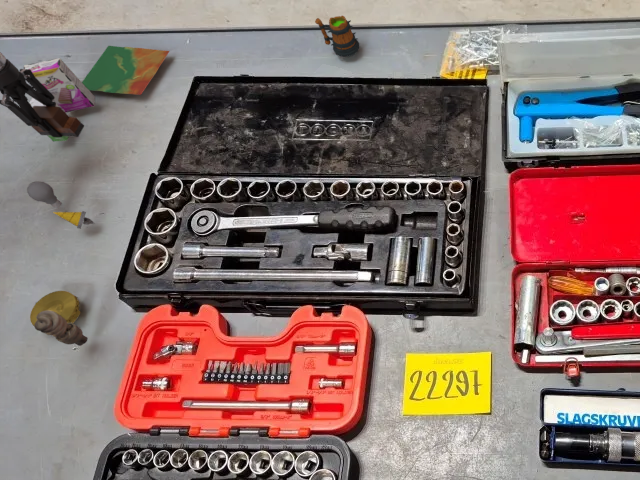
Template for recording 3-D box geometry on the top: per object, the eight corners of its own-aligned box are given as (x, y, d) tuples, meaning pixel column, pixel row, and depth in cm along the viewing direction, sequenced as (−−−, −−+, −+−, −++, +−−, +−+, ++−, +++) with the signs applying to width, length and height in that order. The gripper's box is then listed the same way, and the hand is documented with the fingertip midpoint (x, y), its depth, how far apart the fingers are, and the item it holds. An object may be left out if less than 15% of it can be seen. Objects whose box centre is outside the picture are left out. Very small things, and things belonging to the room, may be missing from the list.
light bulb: (44, 209, 165) (16, 189, 156) (59, 195, 168) (32, 174, 159) (58, 216, 164) (31, 195, 155) (73, 201, 166) (47, 181, 157)
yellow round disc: (34, 305, 151) (27, 302, 149) (77, 287, 153) (72, 283, 151) (39, 340, 146) (33, 337, 144) (84, 320, 148) (78, 317, 146)
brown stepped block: (41, 135, 163) (20, 116, 156) (47, 124, 165) (27, 105, 158) (78, 136, 163) (58, 118, 156) (84, 125, 164) (65, 106, 158)
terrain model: (170, 52, 196) (169, 50, 195) (142, 96, 186) (140, 94, 186) (108, 45, 198) (107, 44, 198) (77, 88, 189) (75, 87, 188)
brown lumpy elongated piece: (81, 331, 147) (36, 307, 133) (99, 332, 146) (56, 309, 133) (71, 350, 144) (24, 327, 131) (90, 351, 144) (45, 329, 130)
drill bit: (91, 234, 161) (49, 223, 155) (93, 227, 165) (52, 216, 159) (96, 219, 160) (54, 207, 154) (98, 212, 164) (56, 200, 157)
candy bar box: (62, 114, 183) (21, 75, 168) (62, 104, 185) (22, 64, 170) (95, 107, 184) (58, 67, 170) (96, 97, 186) (59, 56, 172)
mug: (362, 38, 197) (353, 8, 187) (358, 57, 193) (348, 28, 182) (327, 38, 197) (316, 9, 187) (322, 57, 193) (311, 28, 183)
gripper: (-10, 89, 139) (60, 152, 160) (22, 43, 146) (85, 109, 167) (-37, 88, 139) (36, 151, 160) (-4, 43, 147) (62, 108, 168)
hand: (61, 129), depth 164 cm, fingers closed on brown stepped block, 4 cm apart
